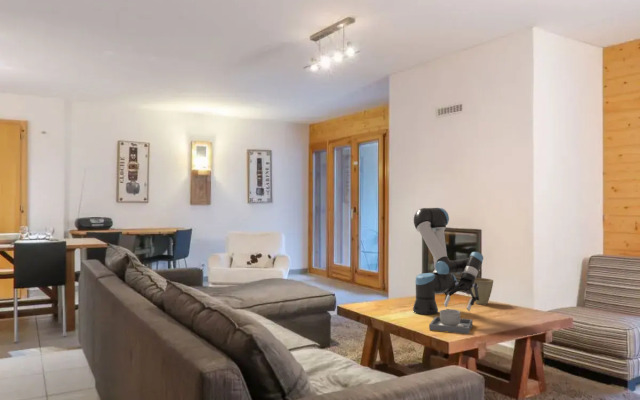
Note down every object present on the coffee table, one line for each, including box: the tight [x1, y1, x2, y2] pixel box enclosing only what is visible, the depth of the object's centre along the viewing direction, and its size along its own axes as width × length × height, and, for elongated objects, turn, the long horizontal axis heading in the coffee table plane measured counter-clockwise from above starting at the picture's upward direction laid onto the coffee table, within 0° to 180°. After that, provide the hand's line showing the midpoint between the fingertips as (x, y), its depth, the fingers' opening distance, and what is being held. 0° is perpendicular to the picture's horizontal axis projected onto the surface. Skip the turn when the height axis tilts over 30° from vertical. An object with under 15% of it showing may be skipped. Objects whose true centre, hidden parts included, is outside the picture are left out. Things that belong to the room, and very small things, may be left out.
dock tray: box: [428, 316, 473, 335], centre depth 267 cm, size 20×20×3 cm
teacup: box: [439, 308, 461, 326], centre depth 267 cm, size 14×11×8 cm
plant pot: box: [471, 277, 494, 305], centre depth 331 cm, size 15×15×16 cm
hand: (456, 307), depth 269 cm, fingers open, 13 cm apart
